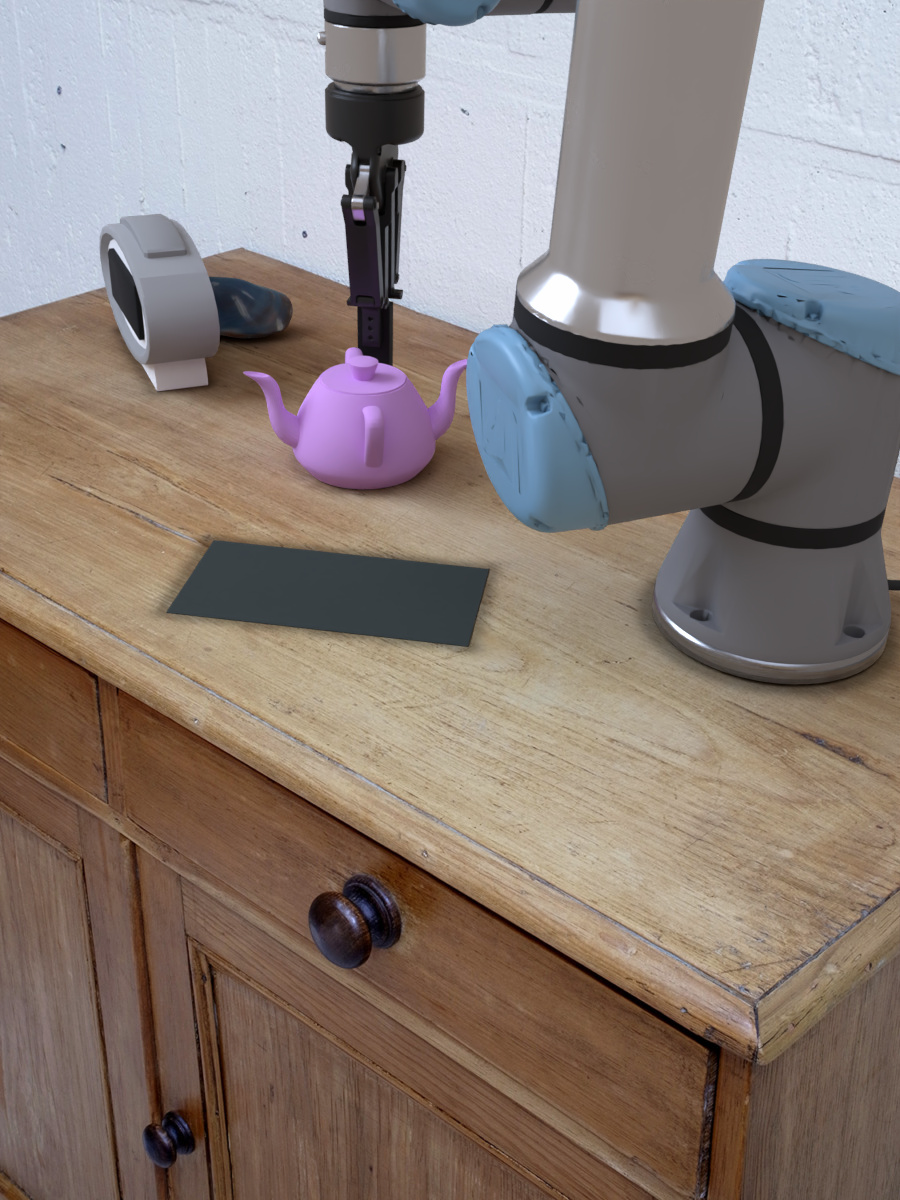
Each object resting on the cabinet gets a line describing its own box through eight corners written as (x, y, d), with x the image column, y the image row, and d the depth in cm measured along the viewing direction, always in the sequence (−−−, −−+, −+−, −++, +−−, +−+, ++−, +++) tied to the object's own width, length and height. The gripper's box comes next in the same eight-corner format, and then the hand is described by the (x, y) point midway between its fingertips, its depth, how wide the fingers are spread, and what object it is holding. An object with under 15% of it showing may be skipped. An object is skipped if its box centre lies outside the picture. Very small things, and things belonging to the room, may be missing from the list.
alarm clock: (106, 320, 133) (91, 191, 126) (167, 313, 135) (156, 187, 128) (154, 406, 114) (140, 261, 108) (224, 397, 117) (214, 254, 110)
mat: (489, 571, 92) (489, 568, 92) (468, 649, 84) (468, 646, 83) (213, 542, 94) (213, 539, 94) (166, 615, 86) (166, 612, 86)
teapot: (472, 458, 107) (477, 355, 103) (359, 518, 98) (358, 408, 93) (363, 418, 113) (363, 319, 109) (247, 471, 104) (241, 365, 99)
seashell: (306, 312, 128) (260, 235, 131) (220, 338, 124) (175, 259, 127) (297, 351, 133) (254, 277, 136) (215, 377, 129) (172, 300, 132)
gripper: (346, 64, 104) (349, 346, 117) (303, 96, 93) (312, 403, 106) (439, 70, 103) (432, 353, 116) (407, 102, 92) (403, 412, 105)
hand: (375, 377), depth 111 cm, fingers closed
